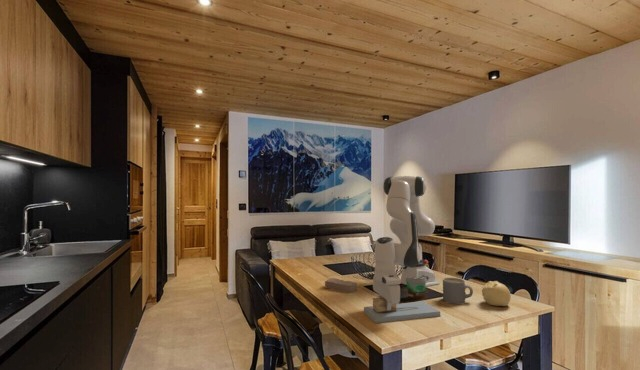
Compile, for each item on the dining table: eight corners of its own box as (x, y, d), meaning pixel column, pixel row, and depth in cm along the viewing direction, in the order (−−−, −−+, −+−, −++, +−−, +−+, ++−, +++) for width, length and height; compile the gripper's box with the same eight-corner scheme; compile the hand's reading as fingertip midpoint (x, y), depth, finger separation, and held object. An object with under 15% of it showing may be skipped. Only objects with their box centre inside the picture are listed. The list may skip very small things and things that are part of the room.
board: (423, 305, 149) (423, 301, 149) (440, 316, 136) (440, 311, 136) (363, 311, 142) (363, 306, 142) (375, 322, 129) (375, 317, 129)
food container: (414, 301, 155) (414, 280, 156) (405, 297, 161) (405, 277, 161) (432, 297, 161) (432, 277, 161) (423, 293, 167) (423, 274, 167)
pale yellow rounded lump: (483, 298, 159) (483, 276, 159) (511, 303, 152) (511, 280, 152) (480, 305, 149) (479, 282, 150) (509, 310, 142) (509, 286, 143)
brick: (357, 289, 175) (357, 281, 175) (350, 293, 168) (350, 284, 168) (332, 285, 184) (331, 277, 184) (324, 289, 177) (324, 280, 177)
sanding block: (391, 307, 141) (391, 296, 141) (396, 311, 136) (396, 299, 136) (372, 309, 139) (372, 298, 139) (377, 313, 134) (377, 301, 134)
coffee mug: (441, 301, 154) (440, 281, 155) (445, 296, 163) (445, 276, 163) (471, 306, 147) (470, 285, 147) (474, 300, 155) (473, 280, 156)
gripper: (369, 270, 147) (369, 299, 147) (388, 282, 127) (389, 316, 127) (381, 269, 149) (382, 298, 148) (402, 281, 129) (403, 315, 129)
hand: (385, 307), depth 138 cm, fingers closed on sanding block, 4 cm apart
